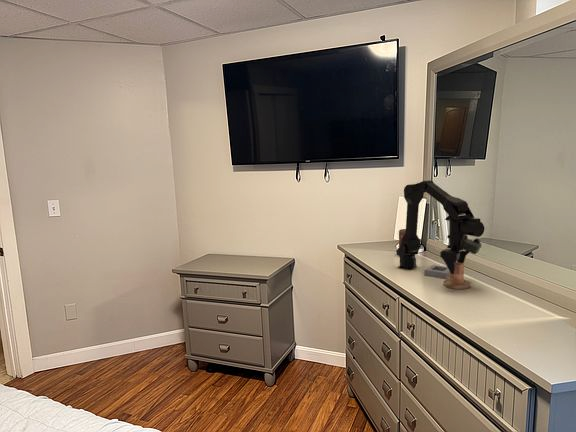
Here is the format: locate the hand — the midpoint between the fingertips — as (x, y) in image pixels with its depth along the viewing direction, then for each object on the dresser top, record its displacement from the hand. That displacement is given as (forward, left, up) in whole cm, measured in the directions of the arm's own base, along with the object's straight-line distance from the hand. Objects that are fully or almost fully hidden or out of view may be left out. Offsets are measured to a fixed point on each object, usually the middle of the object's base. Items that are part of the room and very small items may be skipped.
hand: (456, 270), depth 154 cm
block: (0, 0, -5) cm, 5 cm away
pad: (0, 0, -6) cm, 6 cm away
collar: (-11, +10, -6) cm, 16 cm away
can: (-37, +30, -6) cm, 48 cm away
